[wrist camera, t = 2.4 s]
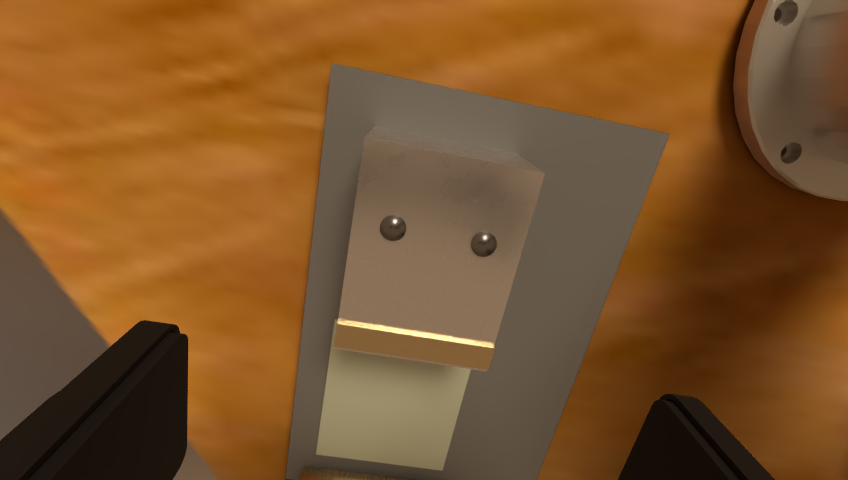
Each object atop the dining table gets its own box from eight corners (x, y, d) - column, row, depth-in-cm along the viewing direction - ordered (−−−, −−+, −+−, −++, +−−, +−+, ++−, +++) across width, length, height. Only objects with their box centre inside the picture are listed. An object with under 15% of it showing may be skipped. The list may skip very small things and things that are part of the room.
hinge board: (656, 131, 18) (672, 134, 17) (496, 559, 28) (500, 579, 27) (336, 64, 17) (330, 63, 16) (282, 535, 27) (276, 555, 26)
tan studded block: (517, 154, 18) (546, 174, 14) (473, 318, 20) (487, 374, 16) (375, 125, 17) (363, 138, 13) (349, 298, 20) (333, 351, 16)
